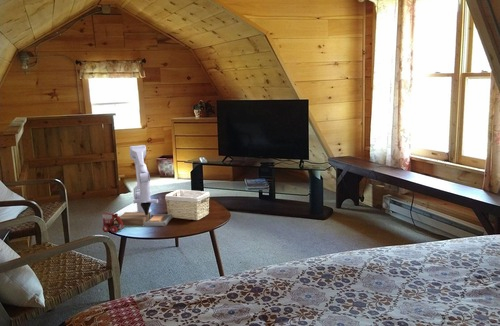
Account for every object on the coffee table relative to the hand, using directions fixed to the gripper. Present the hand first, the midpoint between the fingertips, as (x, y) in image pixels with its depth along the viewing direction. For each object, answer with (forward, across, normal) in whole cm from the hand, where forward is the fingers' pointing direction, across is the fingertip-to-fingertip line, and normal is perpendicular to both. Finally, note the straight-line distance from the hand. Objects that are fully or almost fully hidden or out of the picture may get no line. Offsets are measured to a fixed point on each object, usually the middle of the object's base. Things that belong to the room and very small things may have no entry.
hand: (146, 214), depth 260 cm
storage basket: (+5, +23, +12) cm, 26 cm away
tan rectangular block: (+2, +6, 0) cm, 6 cm away
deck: (+5, -8, 0) cm, 10 cm away
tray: (+5, +7, 0) cm, 8 cm away
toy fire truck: (+5, -15, -15) cm, 22 cm away
